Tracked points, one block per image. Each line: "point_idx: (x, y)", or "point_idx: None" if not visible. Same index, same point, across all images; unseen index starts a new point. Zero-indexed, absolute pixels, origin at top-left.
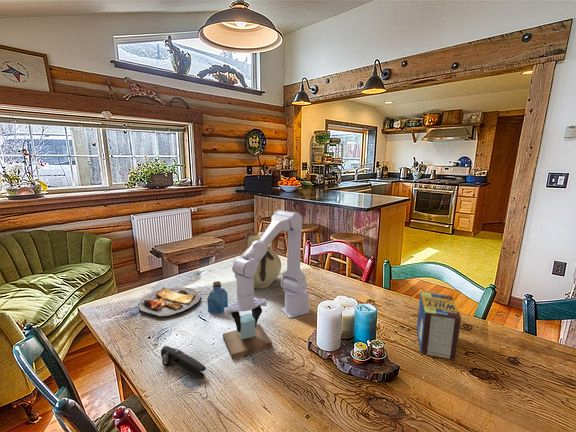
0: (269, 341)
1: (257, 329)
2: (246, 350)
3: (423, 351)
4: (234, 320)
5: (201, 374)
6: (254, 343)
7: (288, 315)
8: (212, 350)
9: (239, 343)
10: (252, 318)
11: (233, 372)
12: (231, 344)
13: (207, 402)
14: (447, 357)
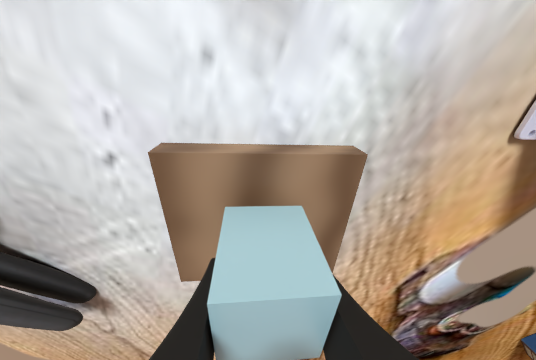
0: None
1: (330, 193)
2: None
3: (528, 347)
4: (179, 321)
5: (79, 302)
6: None
7: (532, 122)
8: (110, 201)
9: None
10: (314, 344)
11: (184, 298)
12: (186, 240)
13: (116, 339)
14: (529, 355)
